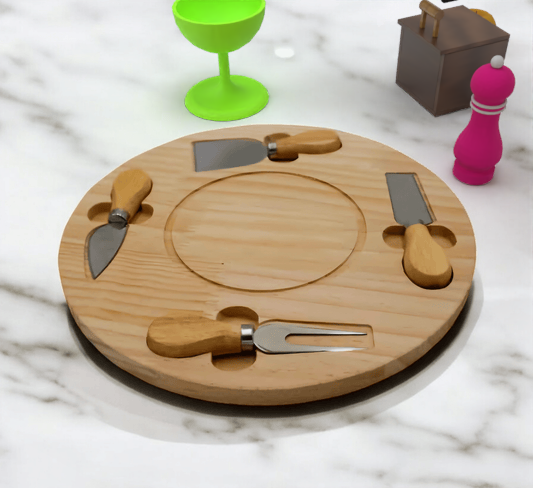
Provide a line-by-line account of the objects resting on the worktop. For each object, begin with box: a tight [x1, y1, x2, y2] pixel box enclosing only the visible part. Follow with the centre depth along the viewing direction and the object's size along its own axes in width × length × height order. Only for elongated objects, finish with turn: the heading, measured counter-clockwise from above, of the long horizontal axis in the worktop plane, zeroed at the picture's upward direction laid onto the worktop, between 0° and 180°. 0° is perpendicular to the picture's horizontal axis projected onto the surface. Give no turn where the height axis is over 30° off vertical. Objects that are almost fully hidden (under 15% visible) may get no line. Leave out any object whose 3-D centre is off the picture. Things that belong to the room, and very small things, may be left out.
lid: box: [396, 0, 511, 55], centre depth 112 cm, size 14×14×6 cm
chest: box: [395, 26, 510, 118], centre depth 118 cm, size 13×14×12 cm
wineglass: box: [171, 0, 270, 122], centre depth 117 cm, size 16×16×18 cm
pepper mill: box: [452, 55, 516, 186], centre depth 96 cm, size 7×7×20 cm
